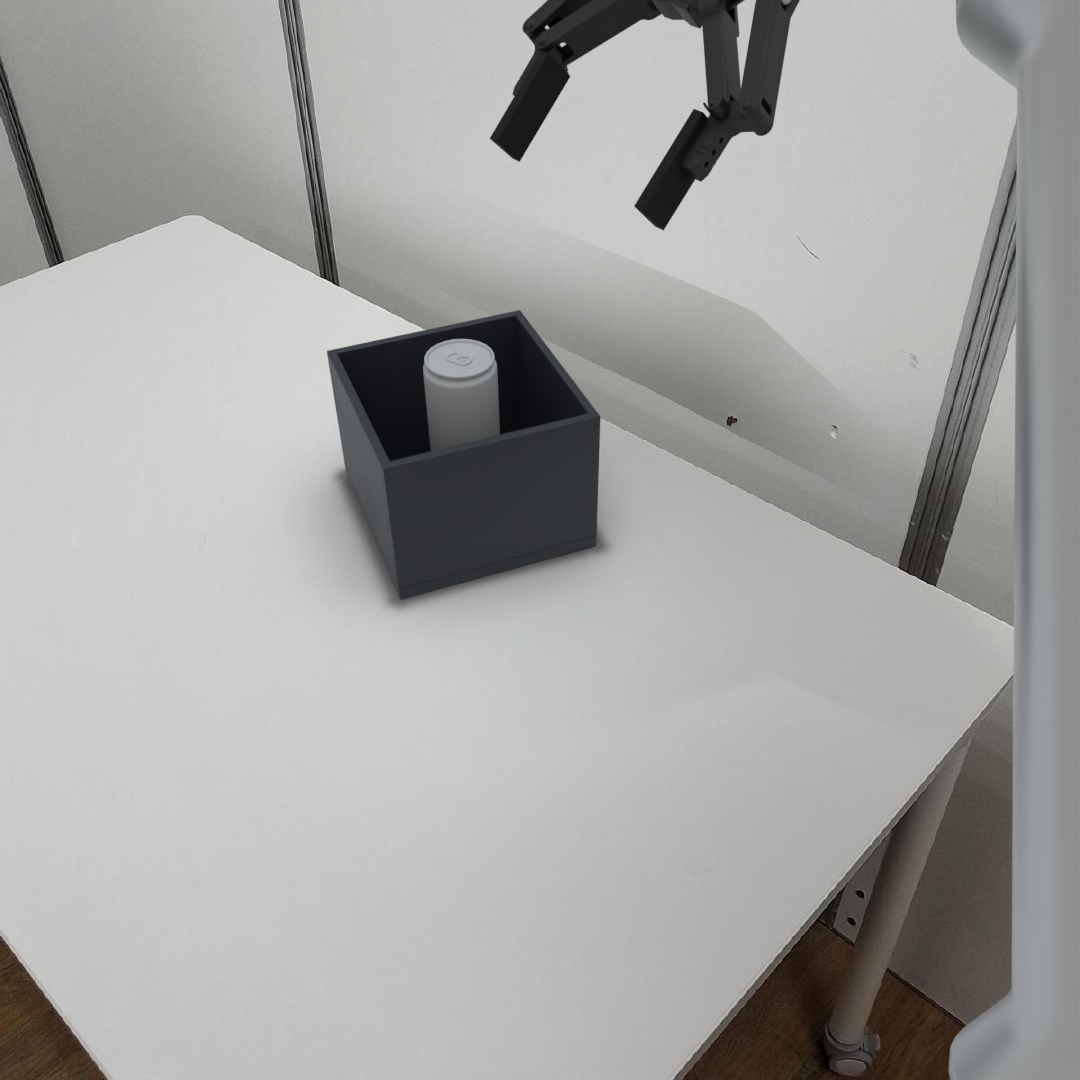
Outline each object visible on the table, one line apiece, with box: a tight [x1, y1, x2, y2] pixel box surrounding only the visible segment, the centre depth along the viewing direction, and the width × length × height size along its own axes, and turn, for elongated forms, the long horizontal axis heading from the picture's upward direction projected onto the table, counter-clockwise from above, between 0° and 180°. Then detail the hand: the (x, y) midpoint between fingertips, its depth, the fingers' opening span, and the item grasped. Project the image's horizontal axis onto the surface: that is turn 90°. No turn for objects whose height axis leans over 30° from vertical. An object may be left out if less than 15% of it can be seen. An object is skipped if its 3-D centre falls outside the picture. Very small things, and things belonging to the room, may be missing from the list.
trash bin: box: [326, 309, 601, 600], centre depth 77 cm, size 14×14×11 cm
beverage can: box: [423, 339, 500, 452], centre depth 76 cm, size 5×5×12 cm
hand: (572, 183), depth 71 cm, fingers open, 13 cm apart
